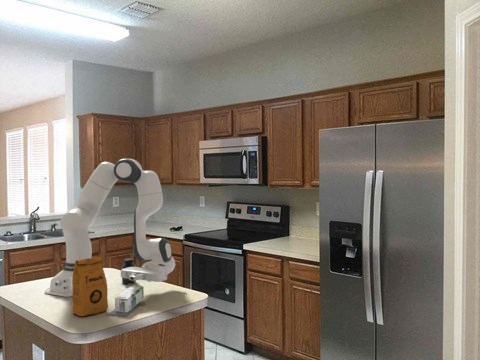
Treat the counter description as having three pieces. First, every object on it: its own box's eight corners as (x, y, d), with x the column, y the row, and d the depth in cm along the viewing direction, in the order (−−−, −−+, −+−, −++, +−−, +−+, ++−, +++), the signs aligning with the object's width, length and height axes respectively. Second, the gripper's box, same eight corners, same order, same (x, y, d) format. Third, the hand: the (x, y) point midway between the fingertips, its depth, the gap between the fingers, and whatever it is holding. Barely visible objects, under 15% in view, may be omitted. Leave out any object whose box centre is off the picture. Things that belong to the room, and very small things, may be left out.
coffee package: (110, 312, 164) (110, 257, 163) (79, 320, 155) (79, 262, 155) (100, 306, 171) (99, 253, 170) (69, 313, 162) (69, 258, 162)
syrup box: (144, 298, 176) (128, 312, 162) (131, 298, 177) (114, 311, 163) (143, 286, 175) (127, 298, 161) (131, 285, 176) (114, 297, 162)
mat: (107, 315, 160) (107, 314, 160) (123, 304, 173) (123, 303, 173) (125, 316, 158) (125, 315, 158) (140, 305, 171) (140, 304, 171)
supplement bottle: (138, 282, 207) (138, 259, 206) (126, 285, 202) (126, 261, 201) (131, 280, 211) (131, 257, 211) (119, 283, 206) (119, 259, 206)
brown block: (123, 303, 174) (123, 300, 174) (124, 302, 175) (124, 300, 175) (145, 305, 172) (145, 302, 172) (146, 304, 173) (146, 301, 173)
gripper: (131, 262, 189) (111, 268, 176) (170, 266, 182) (152, 273, 169) (131, 275, 189) (112, 283, 177) (170, 280, 182) (152, 288, 169)
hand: (131, 278), depth 173 cm, fingers closed
